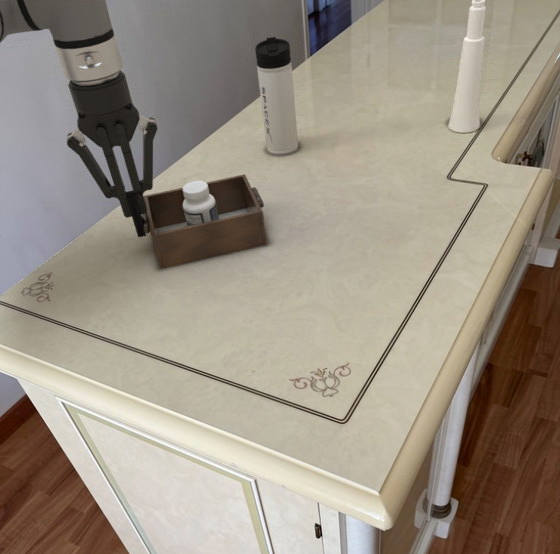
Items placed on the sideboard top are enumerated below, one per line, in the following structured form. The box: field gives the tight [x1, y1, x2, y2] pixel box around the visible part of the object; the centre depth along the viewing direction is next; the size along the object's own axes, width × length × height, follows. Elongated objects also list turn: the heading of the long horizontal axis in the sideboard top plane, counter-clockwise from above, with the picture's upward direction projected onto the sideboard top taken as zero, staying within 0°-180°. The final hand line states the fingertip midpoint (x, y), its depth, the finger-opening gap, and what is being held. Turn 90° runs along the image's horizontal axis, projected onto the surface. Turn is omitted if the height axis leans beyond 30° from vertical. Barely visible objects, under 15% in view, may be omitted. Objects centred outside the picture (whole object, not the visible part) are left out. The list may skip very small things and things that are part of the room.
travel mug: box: [254, 36, 299, 157], centre depth 111 cm, size 6×7×20 cm
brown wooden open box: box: [141, 174, 268, 270], centre depth 95 cm, size 19×13×7 cm
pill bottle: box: [182, 180, 220, 226], centre depth 94 cm, size 5×5×9 cm
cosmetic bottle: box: [447, 0, 487, 134], centre depth 110 cm, size 6×6×22 cm
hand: (141, 232), depth 94 cm, fingers closed
